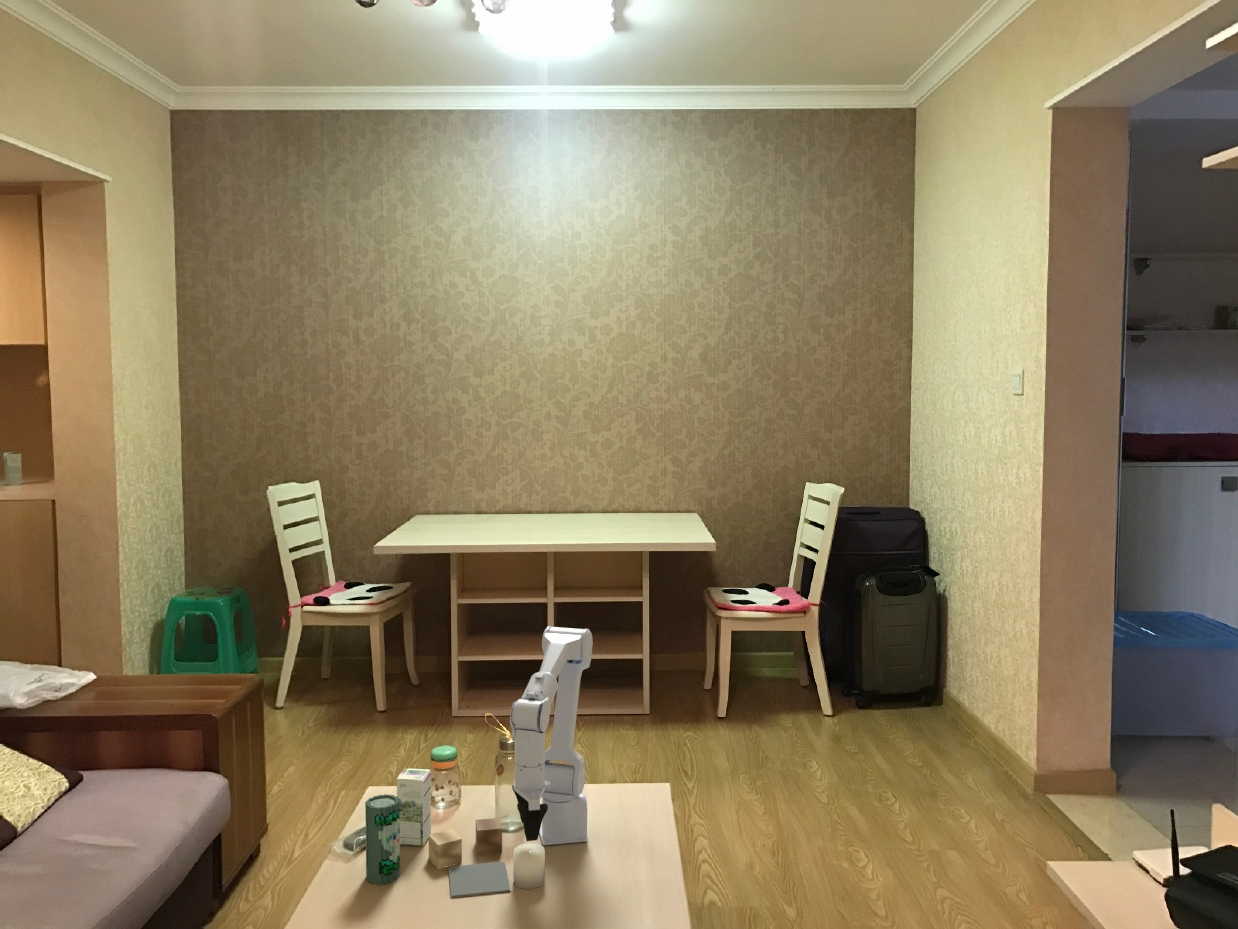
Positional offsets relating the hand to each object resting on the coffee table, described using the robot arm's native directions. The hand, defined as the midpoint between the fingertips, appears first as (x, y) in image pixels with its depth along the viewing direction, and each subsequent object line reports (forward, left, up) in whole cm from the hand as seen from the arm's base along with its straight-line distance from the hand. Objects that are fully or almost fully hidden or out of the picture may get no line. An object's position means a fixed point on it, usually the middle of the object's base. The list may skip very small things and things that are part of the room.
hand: (529, 830), depth 183 cm
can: (+27, -7, -10) cm, 30 cm away
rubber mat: (+9, -2, -10) cm, 14 cm away
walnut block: (+6, -15, -10) cm, 19 cm away
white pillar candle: (0, 0, -10) cm, 10 cm away
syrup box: (+21, -21, -10) cm, 32 cm away
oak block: (+15, -11, -10) cm, 21 cm away
